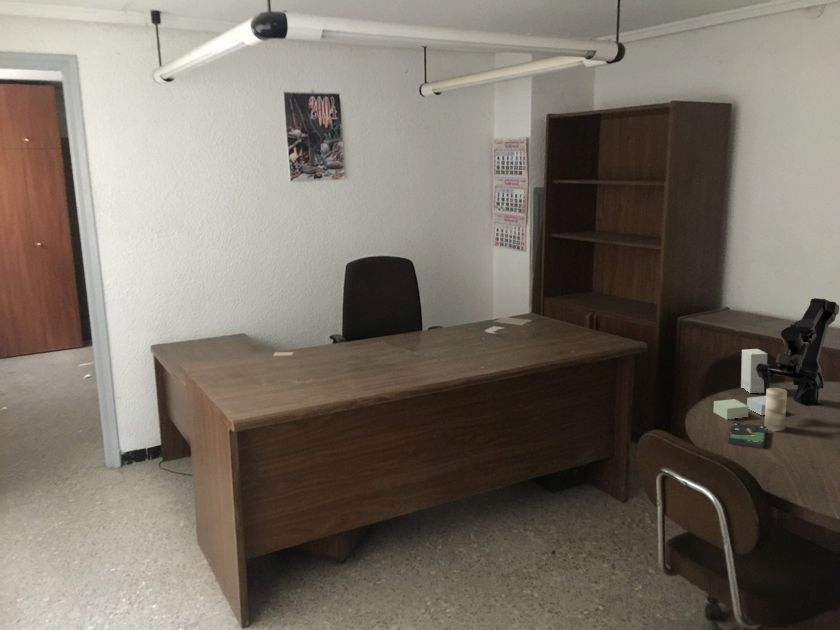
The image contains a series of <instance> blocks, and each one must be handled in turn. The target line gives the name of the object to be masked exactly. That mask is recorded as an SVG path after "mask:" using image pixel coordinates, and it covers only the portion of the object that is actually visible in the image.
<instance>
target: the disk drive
mask: <svg viewBox="0 0 840 630" xmlns="http://www.w3.org/2000/svg"><path fill="white" fill-rule="evenodd" d="M766 434H767V429H766V426H764V425H762V424H761V425H759V424H754V423H752V424H751V423H744V424H742V423H741V422H738V421H737V422H736V421H733V422H732V423H731V427H730V429H729V433H728V436H727V444H729V445H734V446H735V445H736V446H741V447H742V446H743V447H748V448H749V447H751V448H756V447H758V448H757V449H764V447H763V446H765V440H766Z"/></svg>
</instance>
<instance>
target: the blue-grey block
mask: <svg viewBox="0 0 840 630" xmlns="http://www.w3.org/2000/svg"><path fill="white" fill-rule="evenodd" d="M746 399H747V401H746V405H747V406H749V409H750V410H749V409H748V410H749V411H751V410H752V411H751V412H753V411H754V412H756V413H758V414H760V415H765V405H766V395H762V396H752V397H747V398H746ZM754 412H753V413H754ZM756 413H755V414H756ZM758 414H757V415H758ZM760 415H759V416H760Z"/></svg>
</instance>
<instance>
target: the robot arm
mask: <svg viewBox="0 0 840 630" xmlns="http://www.w3.org/2000/svg"><path fill="white" fill-rule="evenodd" d="M839 312H840V305H839V304H838V303H837V302H836V301H831V300H828V299H826V298H817V297H814V298H811V299H810V301H809V306H808V307H807V309H806V310H805V313H804V314H803V316H801V317H802V318H801V319H800V320H797V321H795V322H794V323H793V324H791V323H790V326H788V327H785V328H784V329H783V330H781V332H780V336H781V337H780V338H781V339H782V342H783V345H784V347H785V348H786V349H785V352H784V353H777V355H776V359H775V364H777V365H776V367H777V369H774V368H772V365H771V364H769V363H767V364H763V363H759V364H758V365H757V367H756V371H757V373H758V376H759V377H761V378H762V380H764V393H763V394H764V395H766V390H767V389H768V388H770V386H771V383H772V381H773V380H772V378H773V376H778V377H784V378H789V379H793V385H794V386H797V388H796V391H795V393H794V396H793V401H795V402H798V403H800V404H802V405H804V406H812V405H821V404H822V401H819V391H820V390H821V389H824V386H825V383H824V382H825V380H824V379H825V378H824V376H823V374H822V368H821V365H820V364H819V362H820V357H821V354H822V349H823V346H824V343H825V339H826V335H827V331H828V327H829V326H830V325H831V324H832V323H833V322H835V320H836V317H837V315H839ZM805 343H806V344H807V345H806V344H805Z"/></svg>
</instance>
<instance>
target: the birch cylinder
mask: <svg viewBox="0 0 840 630" xmlns="http://www.w3.org/2000/svg"><path fill="white" fill-rule="evenodd" d="M765 396H766V405H765V416H764V422H763V426H766V430H767V429H768V431H770V430H771V431H770V432H775V431H780V432H784V431H785V427H786V426H785V424H786V413H787V412H786V411H787V410H786V409H787V400H788V399H787V396H788V391H787V390H786V389H784V388H780V387H769V388H768V389H767V390H766V394H765Z"/></svg>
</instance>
